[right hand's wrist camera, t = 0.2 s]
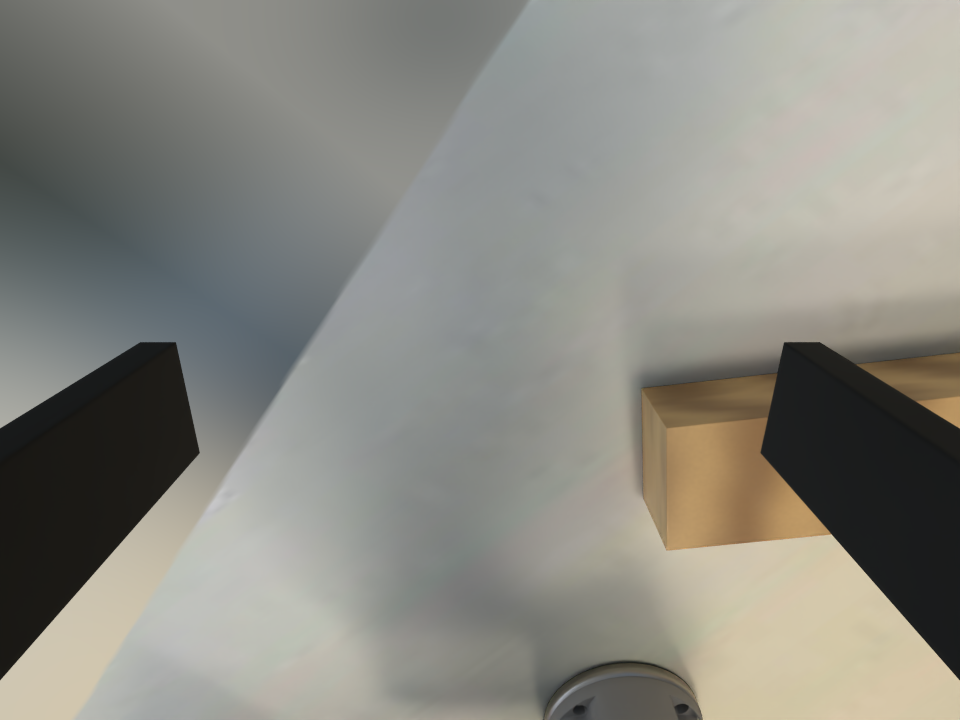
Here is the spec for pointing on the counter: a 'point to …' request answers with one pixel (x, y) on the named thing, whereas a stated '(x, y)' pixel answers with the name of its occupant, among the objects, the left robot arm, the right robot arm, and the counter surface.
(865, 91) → the counter surface
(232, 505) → the counter surface
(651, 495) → the thick board
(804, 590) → the counter surface
